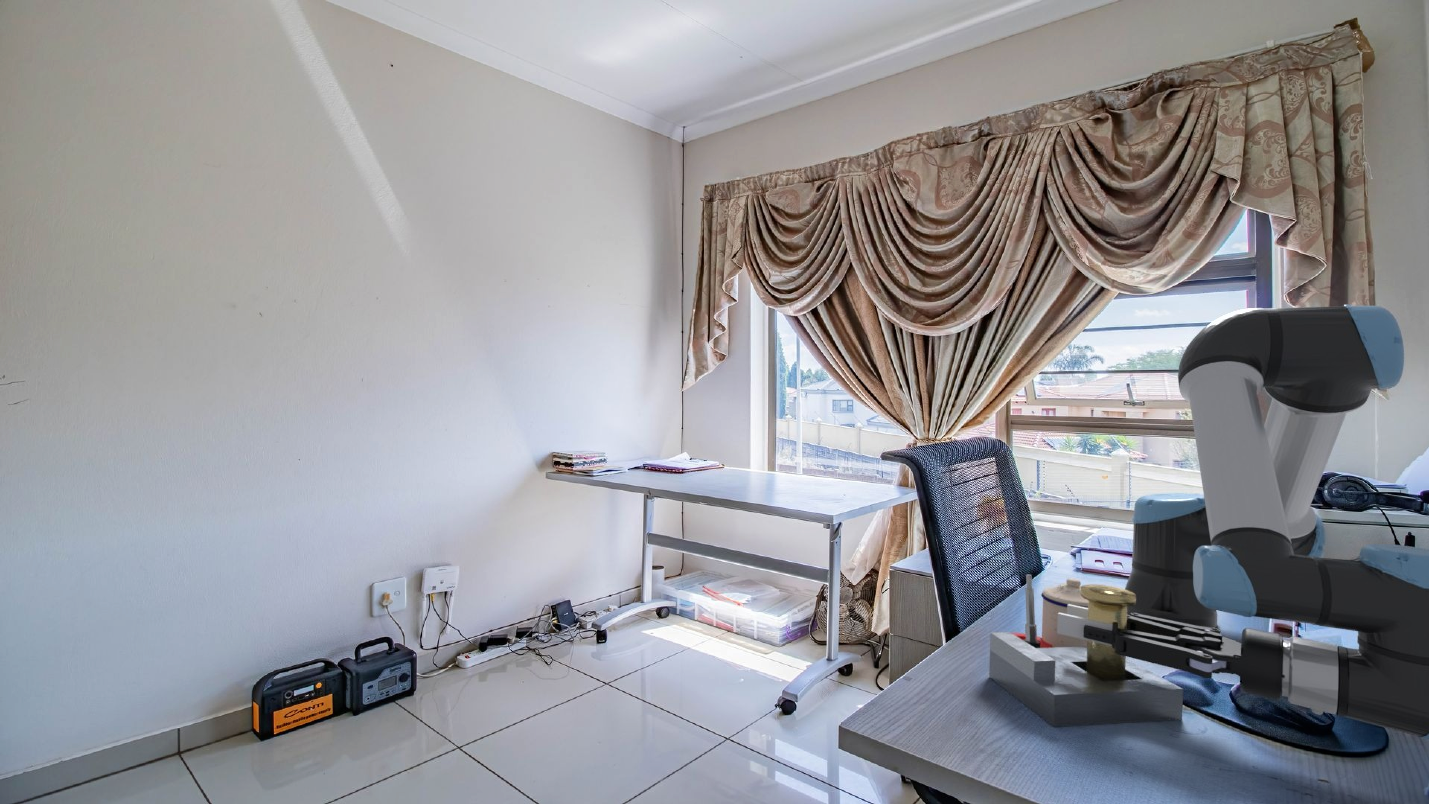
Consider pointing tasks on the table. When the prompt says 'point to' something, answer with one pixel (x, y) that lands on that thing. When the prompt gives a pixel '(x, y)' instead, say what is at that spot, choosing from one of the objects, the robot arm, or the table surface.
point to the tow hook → (1031, 619)
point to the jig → (1079, 686)
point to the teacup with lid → (1055, 603)
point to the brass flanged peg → (1106, 608)
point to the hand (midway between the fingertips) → (1063, 618)
